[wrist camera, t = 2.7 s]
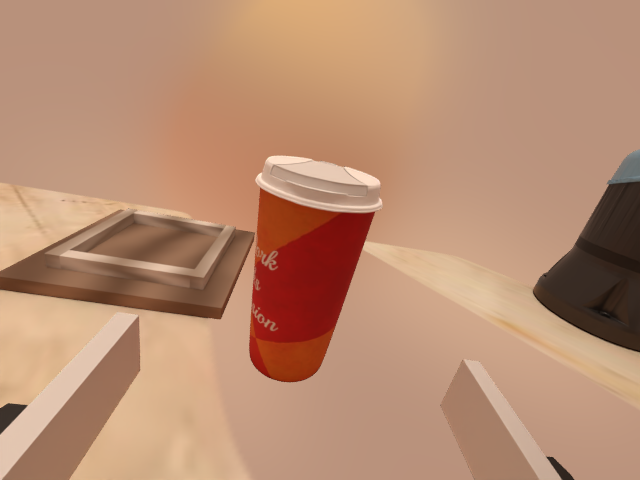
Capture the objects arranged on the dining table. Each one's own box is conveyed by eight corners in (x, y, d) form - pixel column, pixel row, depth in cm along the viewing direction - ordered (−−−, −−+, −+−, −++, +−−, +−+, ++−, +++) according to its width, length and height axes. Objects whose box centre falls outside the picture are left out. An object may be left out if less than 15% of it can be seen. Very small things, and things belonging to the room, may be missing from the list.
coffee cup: (253, 311, 29) (276, 149, 23) (338, 332, 28) (382, 173, 23) (215, 381, 21) (236, 162, 15) (332, 410, 21) (397, 198, 15)
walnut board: (253, 240, 43) (255, 224, 42) (220, 319, 27) (222, 295, 26) (120, 217, 41) (119, 200, 40) (-5, 288, 25) (-12, 261, 24)
